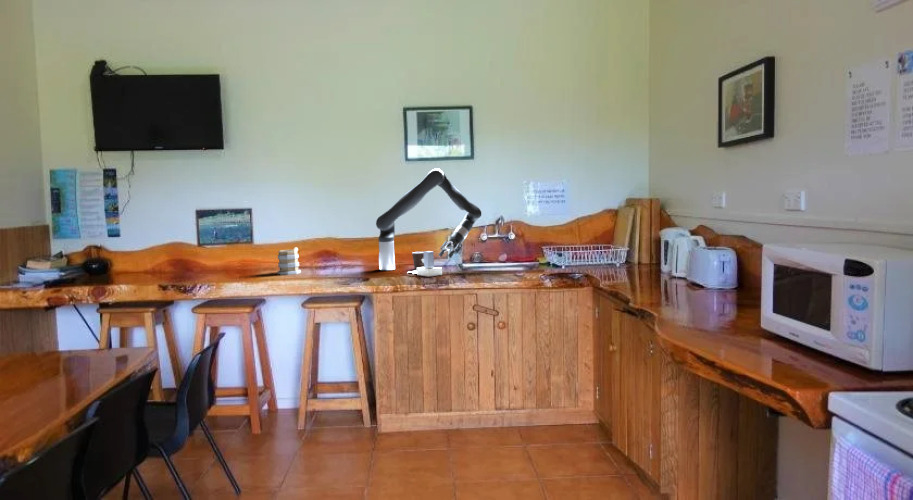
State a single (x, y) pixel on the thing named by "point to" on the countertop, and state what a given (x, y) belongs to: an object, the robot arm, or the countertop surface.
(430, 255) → the grey rectangular block
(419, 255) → the coffee mug
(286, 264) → the tankard
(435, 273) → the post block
